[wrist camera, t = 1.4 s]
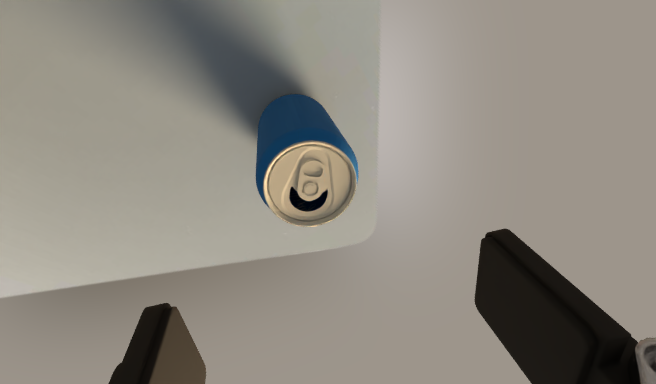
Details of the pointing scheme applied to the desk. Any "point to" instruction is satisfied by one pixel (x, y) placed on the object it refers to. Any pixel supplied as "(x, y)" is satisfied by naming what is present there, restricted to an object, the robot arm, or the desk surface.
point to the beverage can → (303, 162)
